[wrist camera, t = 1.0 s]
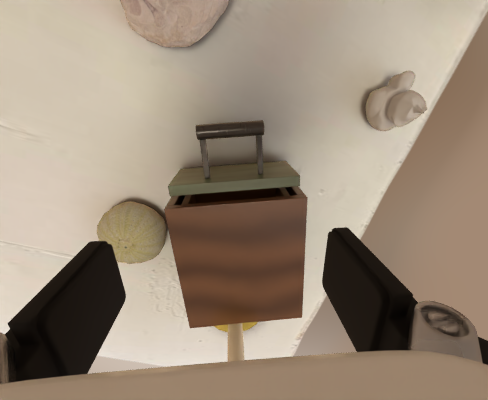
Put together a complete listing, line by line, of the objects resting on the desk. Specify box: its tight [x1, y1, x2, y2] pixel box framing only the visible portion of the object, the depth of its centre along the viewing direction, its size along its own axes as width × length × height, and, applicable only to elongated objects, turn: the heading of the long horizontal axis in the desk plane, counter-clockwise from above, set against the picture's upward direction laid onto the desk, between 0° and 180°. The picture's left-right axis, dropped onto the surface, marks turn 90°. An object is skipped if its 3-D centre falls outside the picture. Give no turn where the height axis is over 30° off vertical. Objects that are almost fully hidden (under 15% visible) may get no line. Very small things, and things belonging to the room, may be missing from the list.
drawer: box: [168, 120, 300, 205], centre depth 30 cm, size 22×14×7 cm, turn 4°
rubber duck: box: [366, 71, 427, 131], centre depth 27 cm, size 5×7×8 cm
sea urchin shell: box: [97, 201, 166, 264], centre depth 33 cm, size 9×8×8 cm
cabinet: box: [164, 186, 307, 328], centre depth 32 cm, size 18×15×9 cm
